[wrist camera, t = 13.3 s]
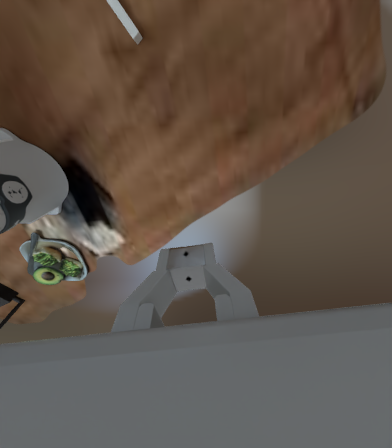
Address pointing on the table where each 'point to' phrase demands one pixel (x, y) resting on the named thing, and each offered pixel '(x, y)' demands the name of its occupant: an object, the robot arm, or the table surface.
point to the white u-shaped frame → (125, 20)
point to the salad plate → (52, 261)
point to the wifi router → (8, 301)
